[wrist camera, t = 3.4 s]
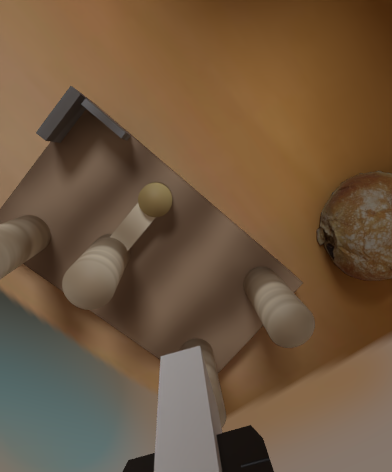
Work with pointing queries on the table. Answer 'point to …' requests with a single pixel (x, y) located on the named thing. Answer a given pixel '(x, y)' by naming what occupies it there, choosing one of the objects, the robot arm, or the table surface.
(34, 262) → the peg board
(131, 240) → the hinged leg
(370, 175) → the bread roll
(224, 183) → the table surface
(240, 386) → the table surface
